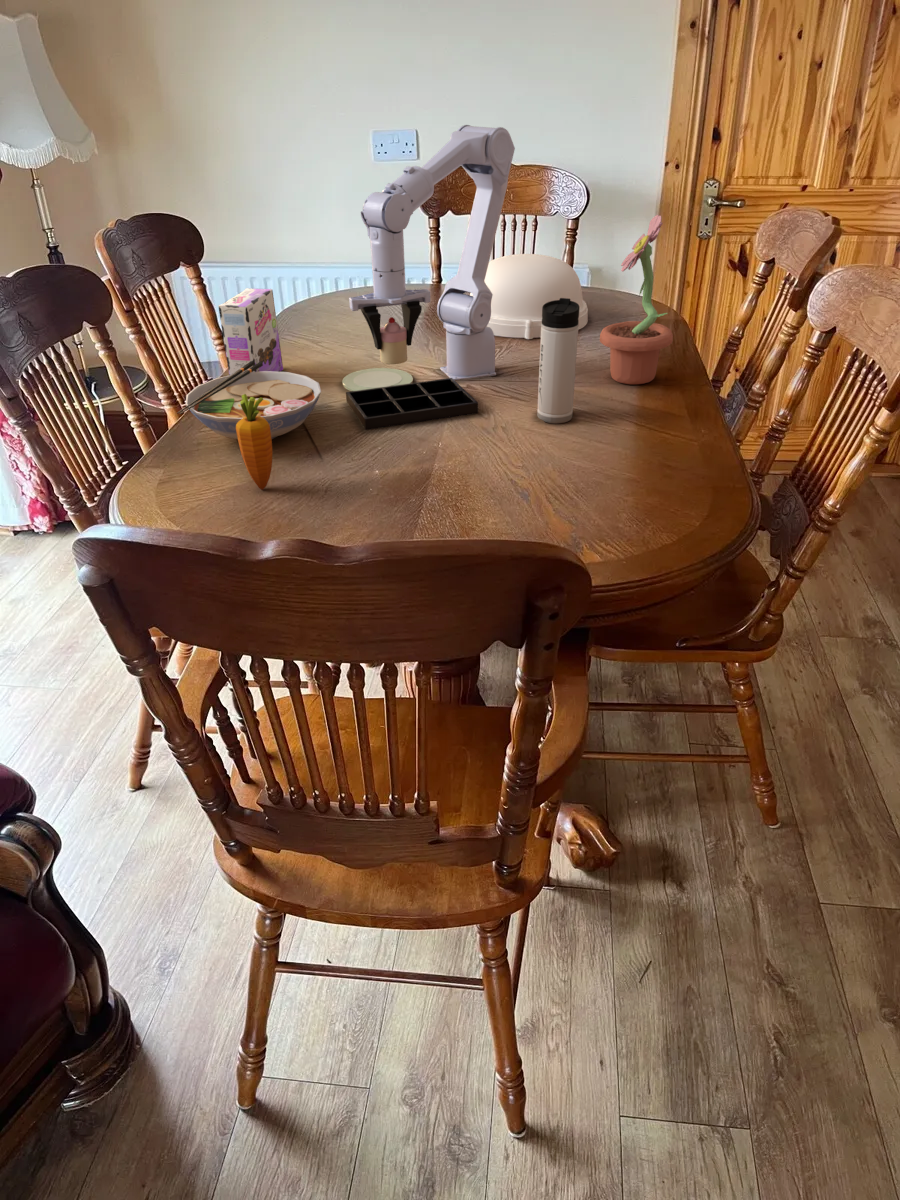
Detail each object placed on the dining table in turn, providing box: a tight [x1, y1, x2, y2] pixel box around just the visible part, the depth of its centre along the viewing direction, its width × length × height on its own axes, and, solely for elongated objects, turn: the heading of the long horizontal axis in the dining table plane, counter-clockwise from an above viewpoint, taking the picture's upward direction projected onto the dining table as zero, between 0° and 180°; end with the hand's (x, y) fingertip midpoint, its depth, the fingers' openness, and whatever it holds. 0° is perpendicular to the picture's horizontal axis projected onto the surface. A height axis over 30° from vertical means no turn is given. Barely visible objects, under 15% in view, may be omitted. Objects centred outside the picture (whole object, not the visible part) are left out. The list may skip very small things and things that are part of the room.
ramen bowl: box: [176, 361, 322, 440], centre depth 144 cm, size 25×23×8 cm
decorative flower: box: [599, 214, 674, 385], centre depth 159 cm, size 15×14×30 cm
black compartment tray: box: [345, 377, 479, 431], centre depth 154 cm, size 14×21×2 cm
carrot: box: [236, 394, 273, 491], centre depth 124 cm, size 5×5×15 cm
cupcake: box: [379, 316, 408, 365], centre depth 154 cm, size 5×5×8 cm
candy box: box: [217, 288, 284, 376], centre depth 165 cm, size 14×6×16 cm, turn 168°
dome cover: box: [469, 253, 589, 340], centre depth 198 cm, size 32×30×14 cm
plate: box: [341, 367, 414, 392], centre depth 167 cm, size 14×14×1 cm
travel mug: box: [536, 298, 579, 425], centre depth 145 cm, size 6×7×20 cm
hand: (392, 346), depth 154 cm, fingers closed on cupcake, 5 cm apart
